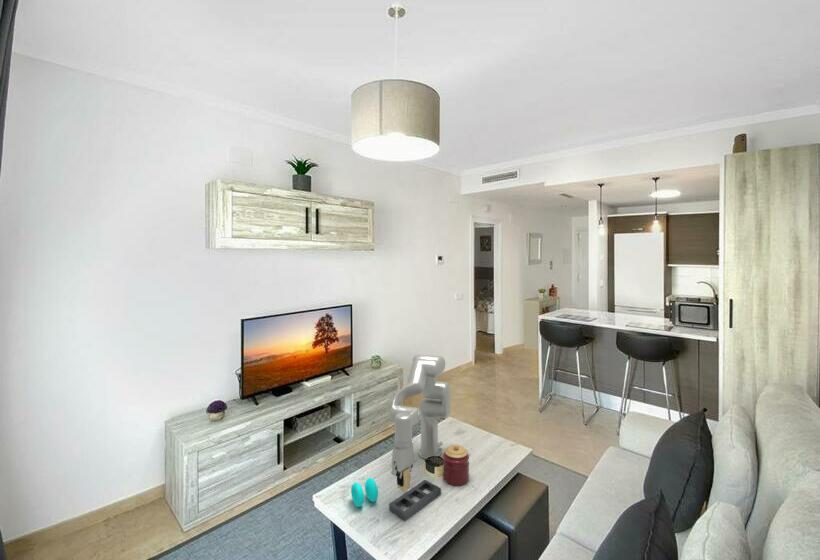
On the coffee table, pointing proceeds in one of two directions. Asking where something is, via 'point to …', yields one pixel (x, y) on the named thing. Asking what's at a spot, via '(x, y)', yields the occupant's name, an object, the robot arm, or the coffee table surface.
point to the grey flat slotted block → (413, 505)
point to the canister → (456, 465)
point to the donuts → (359, 495)
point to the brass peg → (405, 479)
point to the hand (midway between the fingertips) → (403, 482)
